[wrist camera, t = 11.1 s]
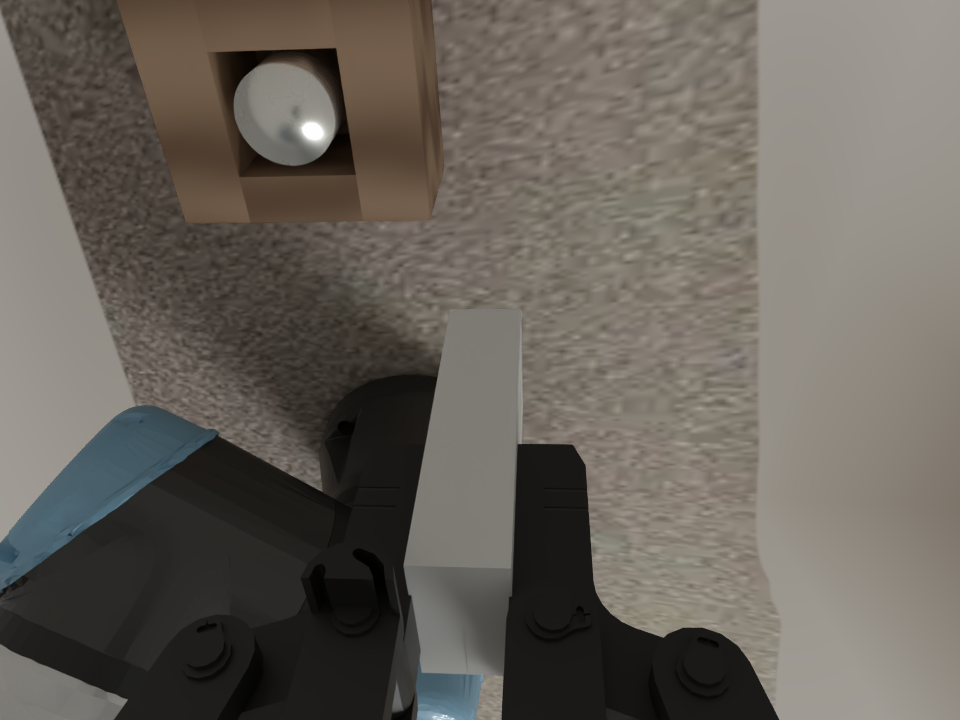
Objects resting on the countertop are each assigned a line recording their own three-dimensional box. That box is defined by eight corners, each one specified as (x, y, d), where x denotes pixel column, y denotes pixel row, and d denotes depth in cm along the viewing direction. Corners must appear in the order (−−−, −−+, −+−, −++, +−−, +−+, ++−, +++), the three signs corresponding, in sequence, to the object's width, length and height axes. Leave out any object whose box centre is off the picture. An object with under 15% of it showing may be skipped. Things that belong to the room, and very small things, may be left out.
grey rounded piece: (365, 123, 41) (341, 164, 36) (280, 125, 41) (247, 166, 36) (352, 31, 38) (324, 63, 33) (261, 34, 38) (222, 66, 34)
